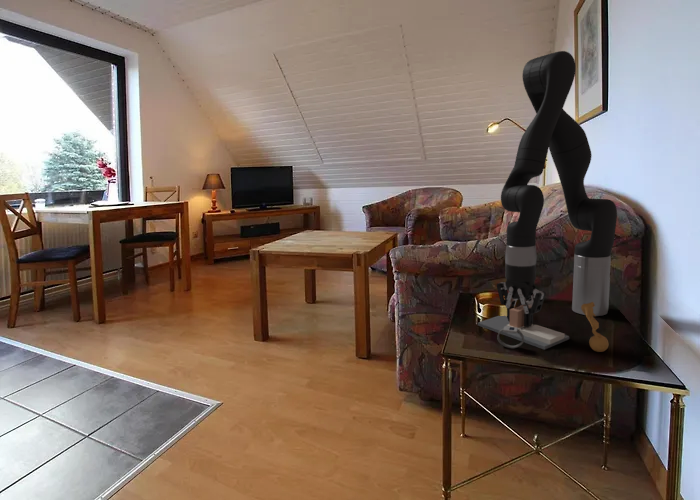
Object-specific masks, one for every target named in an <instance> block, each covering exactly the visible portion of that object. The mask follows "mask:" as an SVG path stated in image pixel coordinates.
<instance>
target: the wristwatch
mask: <svg viewBox="0 0 700 500" xmlns="http://www.w3.org/2000/svg"><path fill="white" fill-rule="evenodd" d="M502 331H503V332H508V333H517V332H518V333H519V334H520V336H521V338H522V341H520V343H518V344H516V345H515V344H514V345H510V344H507V343H505V342H504V341H503V340H501V338H500V335H501V334H500V333H501V332H502ZM496 339H497V342H498V343H499V344H500V345H501V346H503V347H505V348H508V349H517V348H519V347H521V346H522V345H523V344H524V343H525V342H524V336H523V334H522V333H521V331H520V330H518V328H517V327H508V326H504V328H502V329H501V330H500V331H499V333H498V334H497V336H496Z"/></svg>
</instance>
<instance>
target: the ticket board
mask: <svg viewBox="0 0 700 500" xmlns="http://www.w3.org/2000/svg"><path fill="white" fill-rule="evenodd" d="M508 324H510V322H509V321H508V319H507V315H504V316H499V315H497V316H494V317H491V318H488V319H485V320H482V321H479V322H477V326H479V327H481V328H484V329H486V330H487V329H488V330H490V331H493V332H495V333H499V331H500V330H501V329H502V328H504V326H506V325H508ZM520 331H521V333H522V334H523V336H524V342H523V343H525V344H528V345H530V346H533V347H535V348H539V349H542V350H544V351H545V350H547V349H550V348H552V347H555V346H557V345H559V344H561V343H563V342H566V341H568V340H570V336H569V335H567V334H566V333H563V332H560V331H557V330H554V329H551V328H549V327H548V328H547V327H544V326H541V325H538V324H534V323H533V325H531V326H529V327H525V328H522V329H520ZM500 335H503V336H506V337H509V338H512V339H514V340H517V341H520V342H522V338H521V336H520V334H519V333H508V332H503V331H502V332H501V333H500Z"/></svg>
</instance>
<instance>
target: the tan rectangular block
mask: <svg viewBox="0 0 700 500" xmlns="http://www.w3.org/2000/svg"><path fill="white" fill-rule="evenodd" d="M514 307H515V306H514ZM524 313H525V311H524V307H523V305H522V304H520V305H519V306H516V307H515V308H512V309H510V324H508V325H506V326H508V327H517V328H518V330H520V329H522V328H525V326H524ZM533 324H534V323H533ZM533 324H532V325H533ZM517 333H518V332H517Z"/></svg>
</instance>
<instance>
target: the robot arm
mask: <svg viewBox="0 0 700 500" xmlns="http://www.w3.org/2000/svg"><path fill="white" fill-rule="evenodd" d="M576 70H577V68H576V60H575V59H574V57H573V55H572V54H571V53H570V52H569V51H565V50H560V51H559V50H558V51H555V52H552V53H548V54H544V55H541V56H538V57H534V58H532V59H530V60H528V61H527V62H526V63H525V65H524V66H523V69H522V83H523V87H524V89H525V92H526V94H527V97H528V99H529V101H530V103H531V105H532V108H533V110H534V112H535V115H534V117H533V119H532V121H531V122H530V123H529V125H528V126H527V128H526V129H525V131H524V132H523V134H522V136H521V139H520V140H519V143H518V148H517V152H516V156H515V161H514V165H513V168H512V169H511V171H510V173H509V176H508V177H507V179H506V181H505V183H504V184H503V187H502V190H501V194H500V203H501V206H502V208H503V209H504V210H506V211H507V212H511V213H519V216H518V218H517V219H518V220H517V221H512V222H509V224H507V227H506V247H505V255H504V256H505V257H504V258H505V263H504V264H505V265H504V266H505V267H504V268H505V269H504V271H505V273H504V274H505V279H506V280H505V281H501V282H498V283H496V289H497V293H498V298H499V302H500V304H501V305H504V306H505V307H506V316H507V319H508V321H509V322H510V309H512V308H515V306H516V304H517V302H518V300H519V301H520V303H521V304H520V305H523V307H524V311H525V313H524V326H525V327H529V326H531V325H532V324H534V314H536V313H539V312H541V310H542V308H543V304H544V300H545V298H546V295H547V293H546V291H545V290H542V291H541V290H539V289H537V287H536V285H535V283H536V279H537V247H536V245H537V243H536V239H537V227H538V224H539V221H540V217H541V215H542V211H543V207H544V204H545V198H544V193H543V191H542V190H541V188H540V187H539V186H537V185H535V184H529V183H530V181H531V180H532V179H533V178H537V177H539V176H541V175H542V173H543V172H544V168H545V166H546V165H545V164H546V160H547V157H548V151H549V152H550V155H551V158H552V161H553V165H554V166H555V169H556V172H557V175H558V178H559V180H560V184H561V189H562V192H563V197H564V201H565V207H566V209H567V215H568V219H569V221H570V223H571V225H572V227H573V228H574V229H577V230H580V231H581V230H582V231H588V232H591V233H590V238H589V240H586V241H582V242H578V243H576V244H575V246H574V257H573V280H572V283H573V284H572V303H571V310H572V311H573V312H574V313H577V314H580V315H584V316H586V315H585V314H584V313H583V311H582V309H581V306H582V305H583V304H588V303H591V302H594V305H595V306H594V307H593V313H594V314H595V316H596V317H599V316H600V317H601V316H604V315H607V314H608V311H609V303H610V301H609V300H610V289H611V287H610V285H611V282H610V281H611V279H610V277H611V273H610V272H611V258H612V256H611V255H612V249H613V247H614V244H615V235H616V228H617V219H618V212H617V206H616V205H617V204H615V202H614V201H612V200H611V199H606V198H590V197H589V196H588V195H587V192H586V188H585V178H586V174H587V171H588V170H589V167H590V164H591V161H592V157H593V156H592V151H591V146H590V144H589V143H590V142H589V140H588V136H587V133H586V131H585V130H584V129H583V127H582V126H581V125H580V124H579V123H578V122H577V121H576V119H574V118H573V117H572V116H571V115H569V114H568V112H566V111H565V110H564V106H565V103H566V101H567V98H568V95H569V93H570V91H571V88H572V86H573V83H574V81H575V76H576V72H577V71H576Z"/></svg>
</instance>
